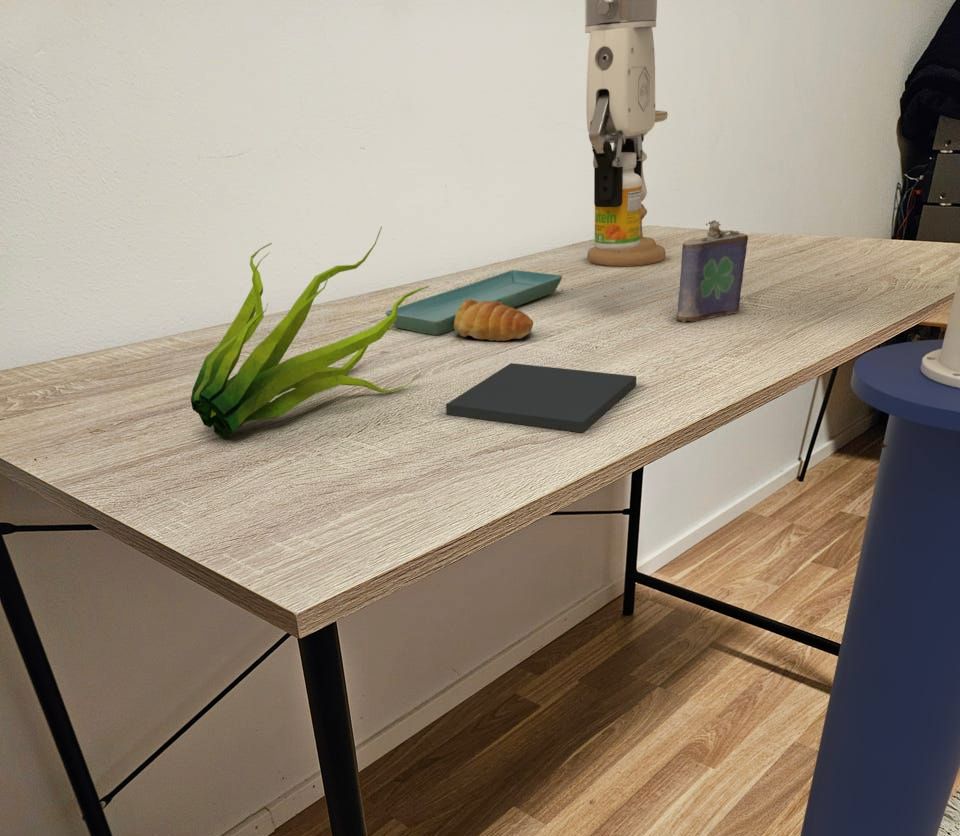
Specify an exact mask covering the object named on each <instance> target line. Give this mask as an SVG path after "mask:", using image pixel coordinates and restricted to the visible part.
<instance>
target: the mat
mask: <svg viewBox="0 0 960 836" xmlns="http://www.w3.org/2000/svg"><path fill="white" fill-rule="evenodd" d="M635 387H637V375H630V374H629V375H628V374H620V373H611V372H610V373H608V372H602V371H601V372H600V371H592V370H591V371H589V370H583V369H581V370H580V369H572V368H571V369H570V368H563V367H561V368H560V367H552V366H542V365H534V364H524V363H523V364H522V363H514V362H511V363H508V364H507V365H505V366H504V367H502V368H501V369H499V370H497V371H495V372H494V373H493V374H491V375H489V376H487V378H485V379H483V380H482V381H480V382H478V383H477V384H476V385H474V386H472V387H471V388H469V389H468V390H466V391H464V392H462V393H461V394H460V395H458V396H457V397H455V398H453V399H452V400H450V401H449V402H447V403H446V404H445V409H446V410H445V411H446V412H445V413H446V415H448V416H454V417H455V416H457V417H464V418H472V419H479V420H485V421H493V422H500V423H507V424H508V423H509V424H515V425H523V426H529V427H530V426H531V427H538V428H544V429H553V430H560V431H566V432H575V433H581V434H583V433H584V432H586V430H588V429H589V428H590V427H591V426H592V425H594V424H595V423H596V422H597V421H598V420H599V419H600V418H601V417H603V415H605V414H606V413H607V412H608V411H610V410H611V409H612V408H613V407H614V406H615V405H616V404H617V403H618V402H619V401H621V400H622V399H623V398H624V397H625V396H626V395H628V394H629V393H630V392H631V391H632V390H633V389H635Z"/></svg>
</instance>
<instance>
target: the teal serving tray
mask: <svg viewBox="0 0 960 836" xmlns="http://www.w3.org/2000/svg"><path fill="white" fill-rule="evenodd" d="M562 279H563V275H561V274H553V273H545V272H536V271H528V270H518V269H511V270H508V271H505V272H501V273H499V274H496V275H493V276H490V277H487V278H484V279H481V280H478V281H475V282H472V283H469V284H466V285H463V286H460V287H457V288H454V289H451V290H447V291H443V292H441V293H438V294H435V295H430V296H428V297H425V298H423V299H419V300H415V301H413V302H409V303H406V304H403V305H399V306H398V310H397V320H396V321H395V322H394V323H393V325H394V327H395V328H397V329H402V330H407V331H413V332H417V333H422V334H428V335H433V336H440V335H444V334H445V333H448V332H451V331H454V330H455V329H454V321H455V316H456V313H457V310H458V308H459V307H460V306H461V304H462V303H463V302H464V301H466V300H475V301H477V302H484V301H490V302H501V303H502V304H503V305H506V306H509V307H512V308H514V309H515V308H516V307H519V306H521V305H524V304H526V303H529V302H531V301H534V300H537V299H540V298H542V297H545V296H547V295H551V294H553V293H555V292H556V290H557V289H558V286H559V285H560V283H561V281H562ZM392 309H393V308H391V309H388V310H386V311H385V315H386V316H387V317H388V316H389V315H391V313H392Z"/></svg>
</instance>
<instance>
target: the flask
mask: <svg viewBox="0 0 960 836" xmlns="http://www.w3.org/2000/svg"><path fill="white" fill-rule="evenodd" d="M708 225H709V228H708V231H706V235H707V237H701V238H697V239H691V240H687V241H684V242H683V243H682V248H681V249H682V250H681V251H682V253H681V263H680V274H679V275H680V276H679V291H678V301H677V311H676V320H677V321H678V322H682V323H686V322H699V320H705V319H707V320H708V319H714V318H715V317H717V316H721V317H722V316H724V315H730V314H737V313H739V312H740V301H741V292H742V286H743V280H744V269H745V264H746V263H745V262H746V255H747V246H748V241H749V236H748V234H745V233H742V232H739V231H738V230H725V231H723V230H721V229H720V226H722V225H721V223H720V221H719V220H718V221H717V220H716V219H714V220H711V221H708V223H705V226H708Z"/></svg>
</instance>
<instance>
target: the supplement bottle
mask: <svg viewBox="0 0 960 836" xmlns="http://www.w3.org/2000/svg"><path fill="white" fill-rule="evenodd" d="M619 167H623V192H622V205H621V206H619V207H596V206H595V205H594V247H597V248H599V249H628V248H632V247H635V246H637V245H639V243H640V226H641V204H642V202H641V193H642V180H641V177H640V176H639V175H638V174H635V173H634V168H635V167H636V153H632V152H622V153H621V157H620V165H619Z"/></svg>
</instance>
